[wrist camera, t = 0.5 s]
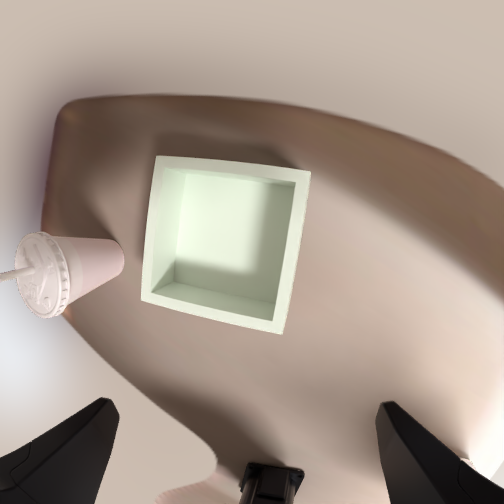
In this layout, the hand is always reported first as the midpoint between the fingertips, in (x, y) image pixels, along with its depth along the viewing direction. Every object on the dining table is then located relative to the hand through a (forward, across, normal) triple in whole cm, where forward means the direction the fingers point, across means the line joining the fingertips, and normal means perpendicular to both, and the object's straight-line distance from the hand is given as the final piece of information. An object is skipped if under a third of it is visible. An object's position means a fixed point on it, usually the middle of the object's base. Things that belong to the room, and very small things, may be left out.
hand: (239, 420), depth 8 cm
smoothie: (+18, +15, 0) cm, 23 cm away
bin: (+16, +2, -1) cm, 17 cm away
